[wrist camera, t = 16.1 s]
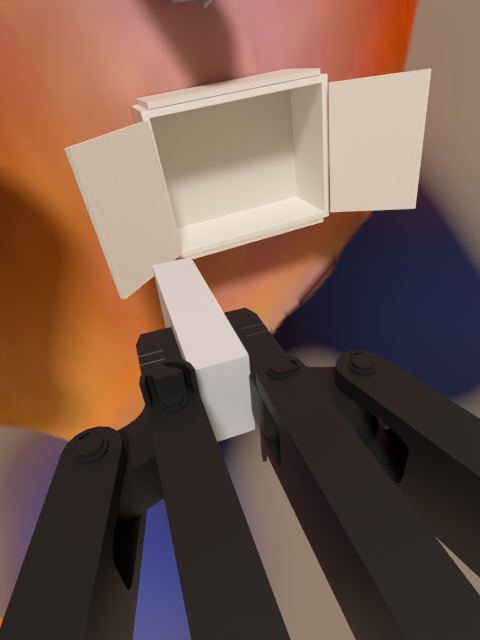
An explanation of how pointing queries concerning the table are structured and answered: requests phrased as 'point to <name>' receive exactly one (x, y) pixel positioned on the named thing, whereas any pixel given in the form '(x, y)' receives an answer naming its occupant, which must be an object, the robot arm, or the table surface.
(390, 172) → the flap
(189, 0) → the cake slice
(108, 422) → the table surface
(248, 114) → the carton
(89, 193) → the flap
